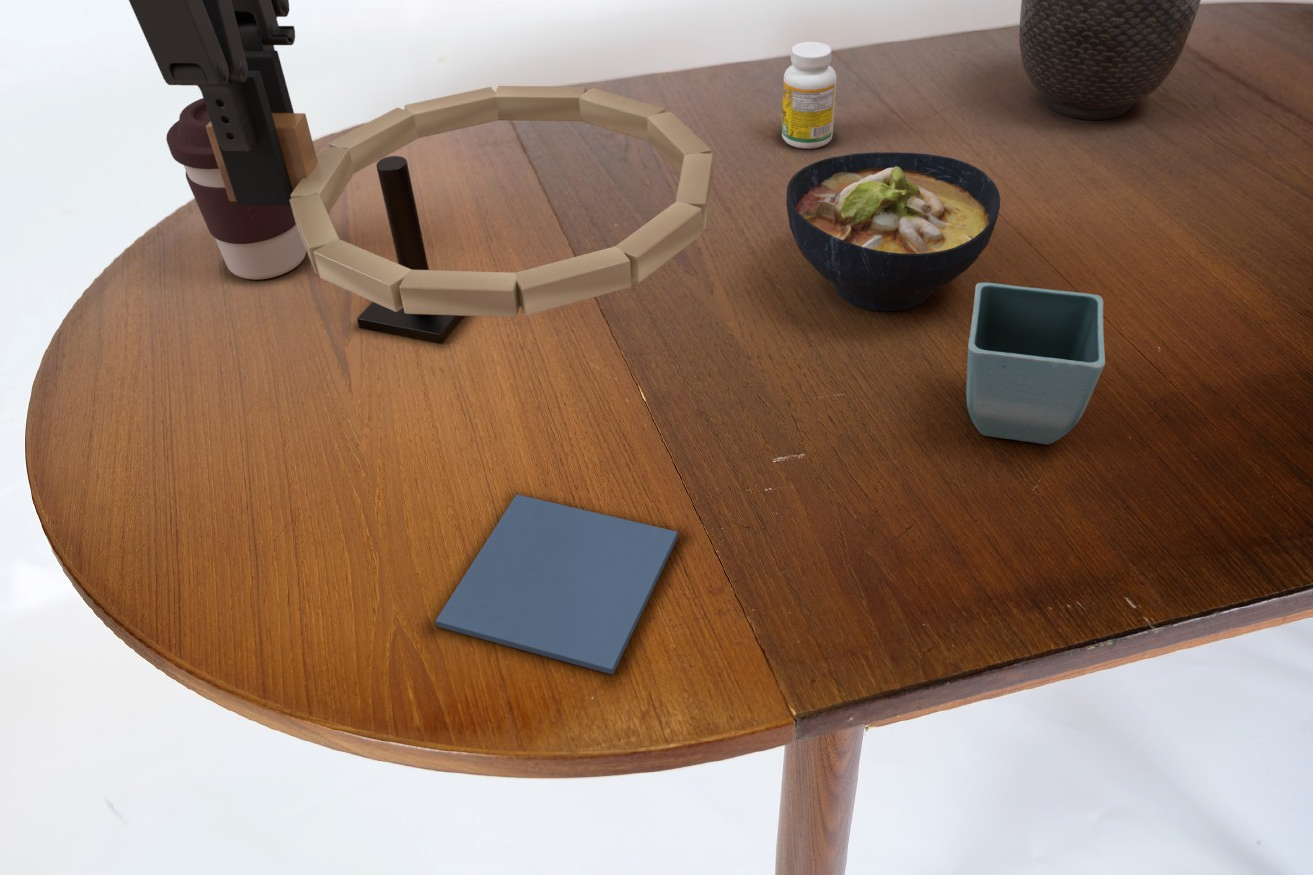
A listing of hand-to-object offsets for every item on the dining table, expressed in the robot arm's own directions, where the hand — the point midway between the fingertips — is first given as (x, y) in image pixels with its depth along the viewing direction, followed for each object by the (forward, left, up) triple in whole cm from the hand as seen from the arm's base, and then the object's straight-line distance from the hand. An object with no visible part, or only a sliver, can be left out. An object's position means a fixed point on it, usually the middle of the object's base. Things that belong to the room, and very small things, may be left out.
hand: (274, 189), depth 56 cm
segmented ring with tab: (+2, -10, 0) cm, 10 cm away
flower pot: (+28, -38, -29) cm, 55 cm away
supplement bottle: (+68, -12, -29) cm, 74 cm away
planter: (+84, -38, -29) cm, 97 cm away
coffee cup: (+31, +30, -29) cm, 52 cm away
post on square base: (+28, +13, -28) cm, 42 cm away
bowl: (+43, -24, -29) cm, 57 cm away
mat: (+3, -12, -28) cm, 31 cm away
